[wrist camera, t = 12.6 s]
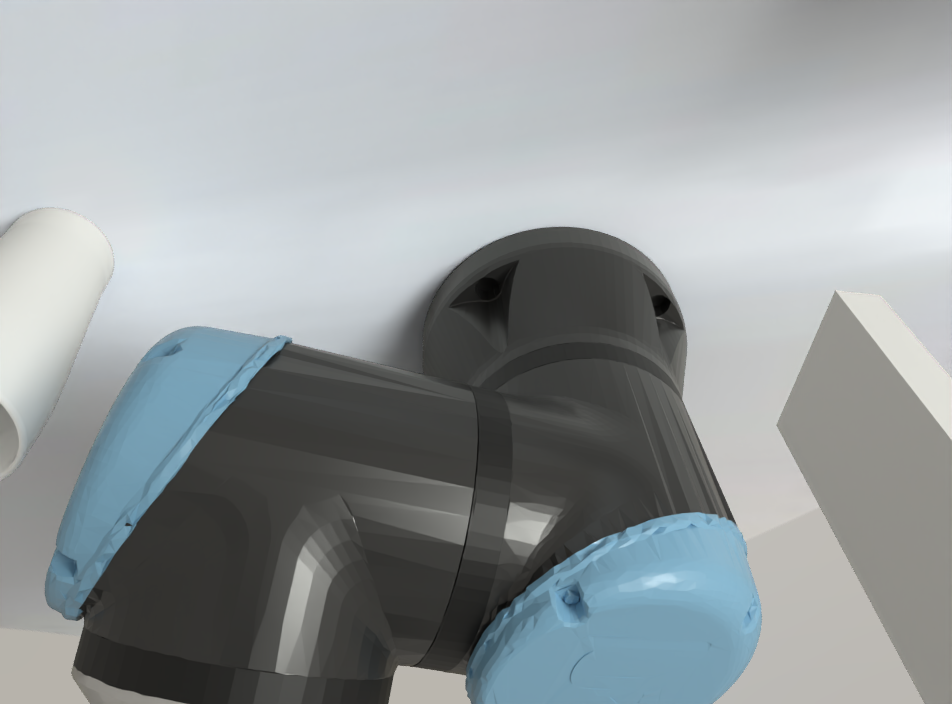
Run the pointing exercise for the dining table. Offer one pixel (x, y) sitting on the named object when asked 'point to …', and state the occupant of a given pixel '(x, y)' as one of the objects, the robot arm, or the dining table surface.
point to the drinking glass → (44, 317)
